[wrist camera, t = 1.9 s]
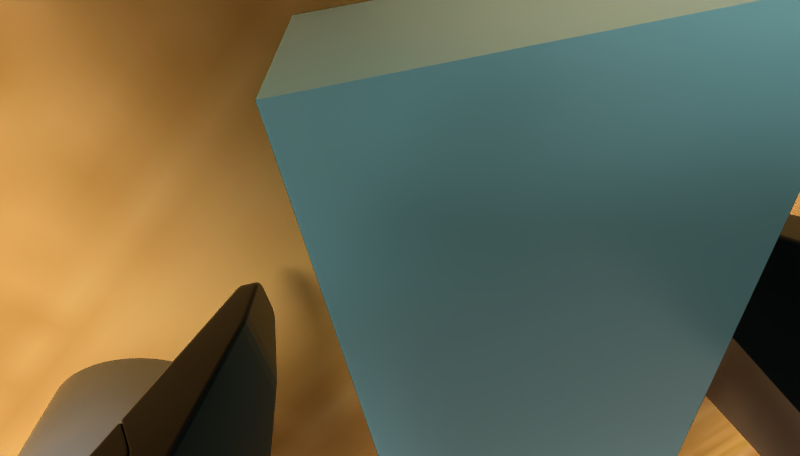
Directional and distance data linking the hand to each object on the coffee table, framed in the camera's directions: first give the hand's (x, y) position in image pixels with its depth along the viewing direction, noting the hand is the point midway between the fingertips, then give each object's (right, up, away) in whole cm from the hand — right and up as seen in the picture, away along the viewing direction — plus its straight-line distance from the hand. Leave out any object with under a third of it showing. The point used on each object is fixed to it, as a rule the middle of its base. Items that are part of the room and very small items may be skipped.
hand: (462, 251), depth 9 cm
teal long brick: (0, +1, +2) cm, 2 cm away
